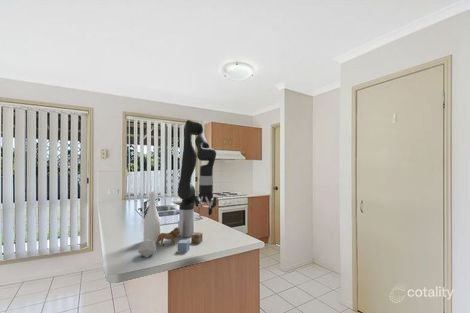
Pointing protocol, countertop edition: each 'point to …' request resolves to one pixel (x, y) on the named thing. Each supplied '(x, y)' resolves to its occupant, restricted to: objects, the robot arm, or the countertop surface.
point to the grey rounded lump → (147, 247)
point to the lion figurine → (169, 236)
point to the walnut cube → (196, 238)
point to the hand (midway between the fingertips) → (205, 214)
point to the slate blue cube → (183, 245)
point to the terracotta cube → (204, 211)
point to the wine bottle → (152, 220)
